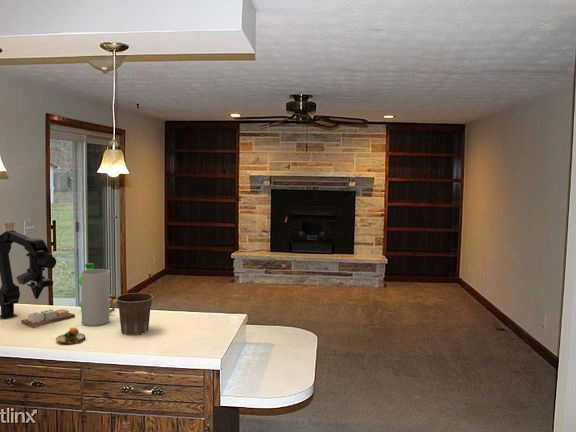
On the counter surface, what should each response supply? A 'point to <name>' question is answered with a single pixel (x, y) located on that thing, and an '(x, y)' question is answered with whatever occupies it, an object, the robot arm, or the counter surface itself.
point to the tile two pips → (49, 314)
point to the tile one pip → (35, 317)
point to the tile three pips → (62, 312)
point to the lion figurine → (111, 303)
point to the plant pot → (134, 312)
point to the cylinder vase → (95, 297)
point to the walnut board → (47, 320)
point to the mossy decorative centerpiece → (71, 337)
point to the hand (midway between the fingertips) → (36, 298)
